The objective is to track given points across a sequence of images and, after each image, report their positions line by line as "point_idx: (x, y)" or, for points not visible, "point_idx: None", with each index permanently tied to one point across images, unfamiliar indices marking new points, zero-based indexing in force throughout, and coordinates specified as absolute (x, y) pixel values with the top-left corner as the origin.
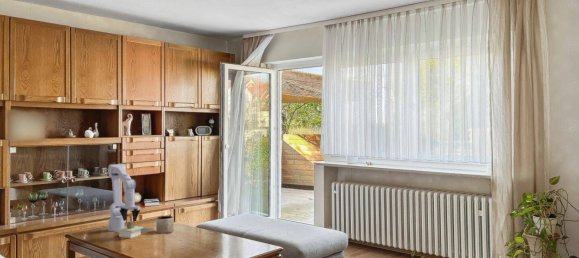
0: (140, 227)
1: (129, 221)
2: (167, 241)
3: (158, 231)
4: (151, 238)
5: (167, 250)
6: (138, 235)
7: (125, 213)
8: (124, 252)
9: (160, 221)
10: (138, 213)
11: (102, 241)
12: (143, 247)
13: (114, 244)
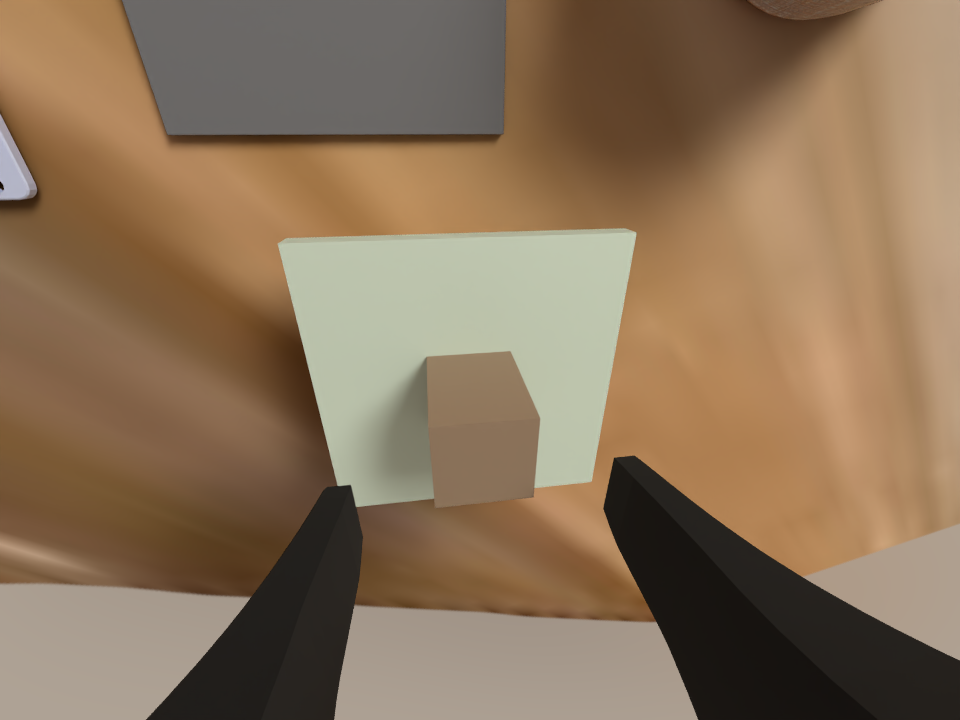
0: (605, 293)
1: (443, 458)
2: (941, 334)
3: (791, 9)
4: (747, 305)
5: (954, 501)
6: None
7: (303, 716)
8: None
9: None
10: (850, 612)
11: None
12: (775, 520)
13: (519, 557)
